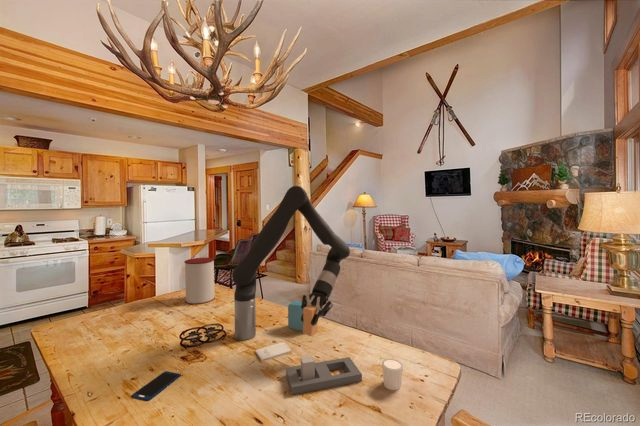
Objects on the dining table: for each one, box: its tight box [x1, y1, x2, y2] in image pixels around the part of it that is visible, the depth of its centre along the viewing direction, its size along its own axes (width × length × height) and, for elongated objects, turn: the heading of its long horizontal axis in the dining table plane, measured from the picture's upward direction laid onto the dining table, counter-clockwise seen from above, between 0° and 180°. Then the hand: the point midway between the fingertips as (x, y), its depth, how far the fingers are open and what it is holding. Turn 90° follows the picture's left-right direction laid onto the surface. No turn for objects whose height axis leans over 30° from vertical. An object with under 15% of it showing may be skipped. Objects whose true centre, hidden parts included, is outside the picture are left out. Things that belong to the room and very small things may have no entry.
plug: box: [302, 305, 319, 337], centre depth 109 cm, size 4×4×10 cm
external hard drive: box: [254, 341, 292, 362], centre depth 114 cm, size 2×8×12 cm
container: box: [184, 257, 216, 305], centre depth 177 cm, size 17×17×25 cm
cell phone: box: [130, 370, 182, 402], centre depth 94 cm, size 7×14×1 cm, turn 164°
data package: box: [287, 300, 303, 332], centre depth 136 cm, size 12×4×12 cm, turn 66°
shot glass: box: [381, 358, 404, 391], centre depth 94 cm, size 7×7×7 cm
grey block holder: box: [285, 354, 363, 396], centre depth 97 cm, size 24×11×8 cm, turn 106°
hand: (307, 323), depth 108 cm, fingers closed on plug, 4 cm apart
